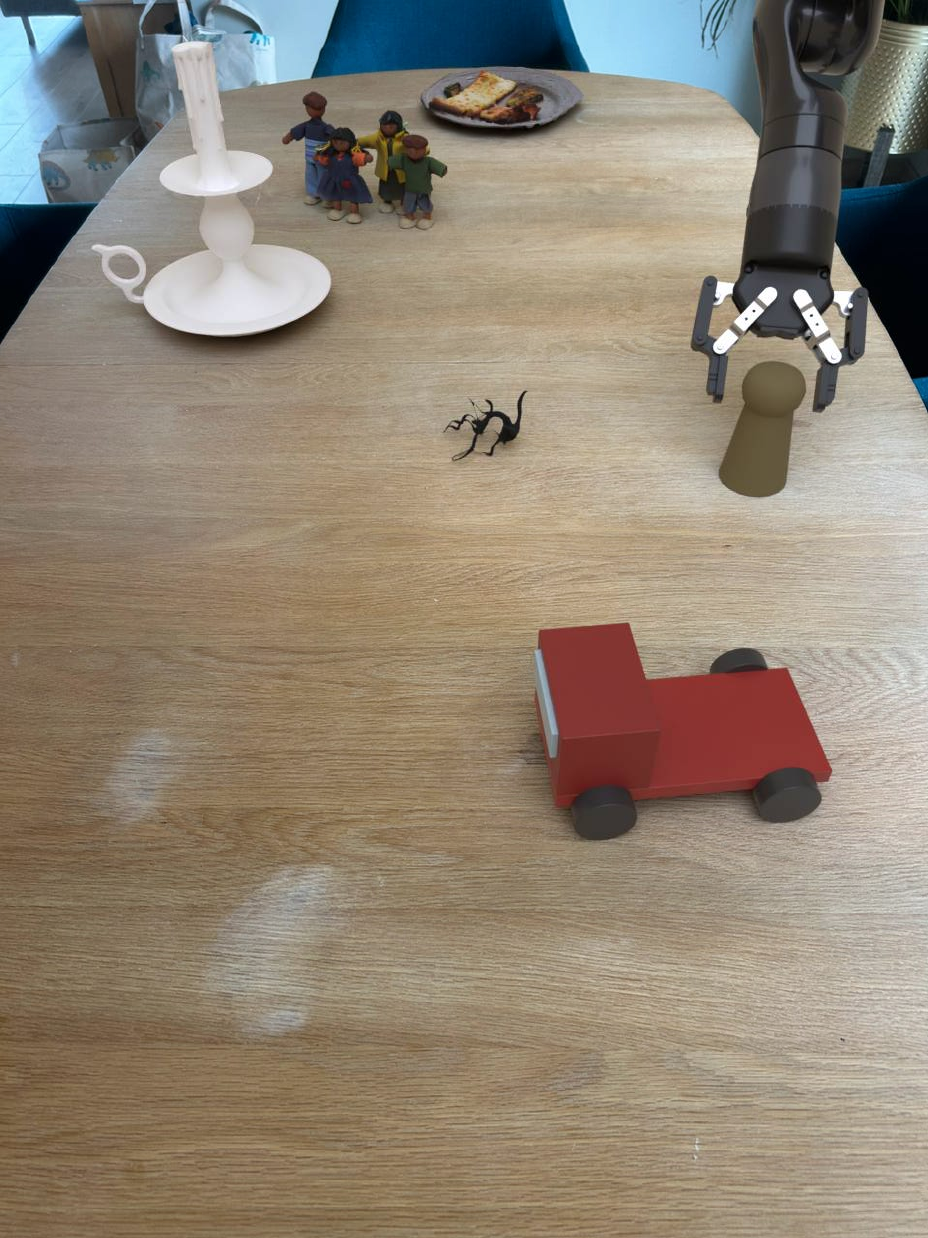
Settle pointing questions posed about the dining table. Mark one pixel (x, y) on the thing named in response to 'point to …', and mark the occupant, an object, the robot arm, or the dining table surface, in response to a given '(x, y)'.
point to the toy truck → (668, 731)
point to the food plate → (501, 97)
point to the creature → (507, 430)
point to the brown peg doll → (763, 430)
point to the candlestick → (221, 232)
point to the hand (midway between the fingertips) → (768, 406)
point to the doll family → (340, 158)
